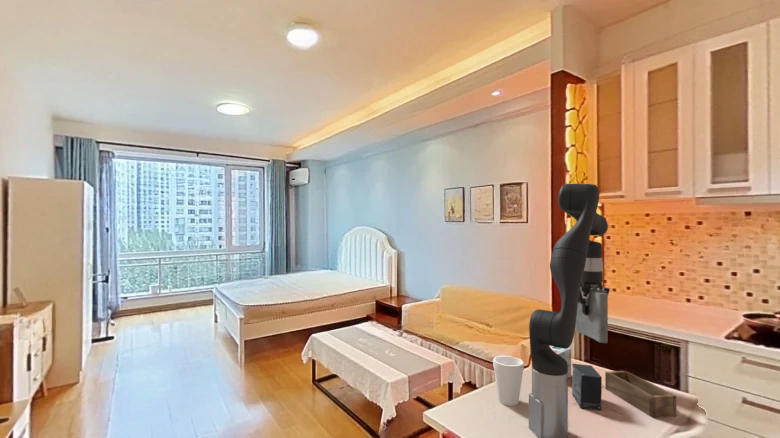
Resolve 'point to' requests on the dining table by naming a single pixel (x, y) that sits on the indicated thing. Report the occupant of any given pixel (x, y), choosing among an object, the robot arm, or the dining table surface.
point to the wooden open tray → (641, 394)
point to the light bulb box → (564, 356)
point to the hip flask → (594, 317)
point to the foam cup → (508, 378)
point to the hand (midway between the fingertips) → (591, 314)
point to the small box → (586, 386)
